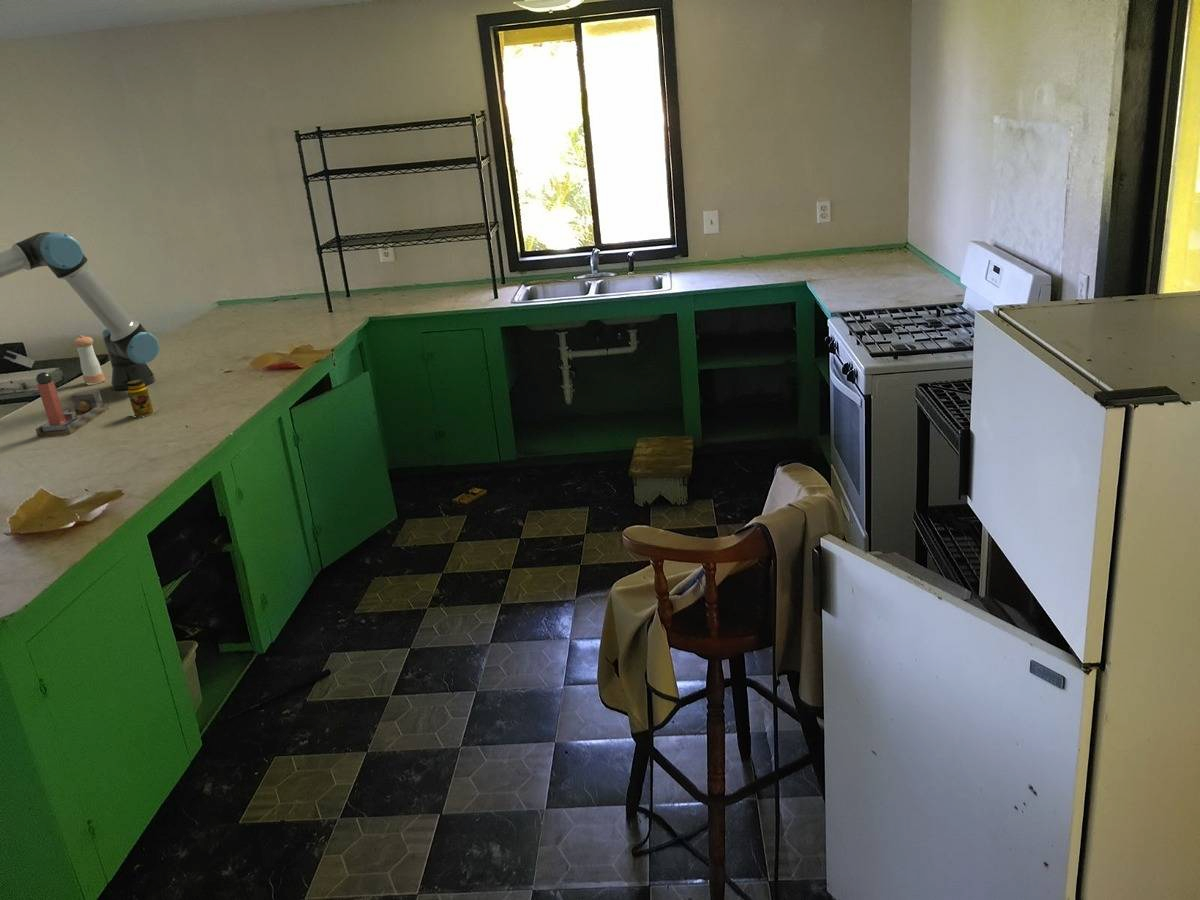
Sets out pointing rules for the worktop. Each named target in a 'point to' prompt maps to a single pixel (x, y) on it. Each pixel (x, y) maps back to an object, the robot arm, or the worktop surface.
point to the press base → (79, 412)
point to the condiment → (139, 398)
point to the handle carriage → (53, 404)
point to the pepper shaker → (88, 360)
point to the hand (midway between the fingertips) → (30, 363)
